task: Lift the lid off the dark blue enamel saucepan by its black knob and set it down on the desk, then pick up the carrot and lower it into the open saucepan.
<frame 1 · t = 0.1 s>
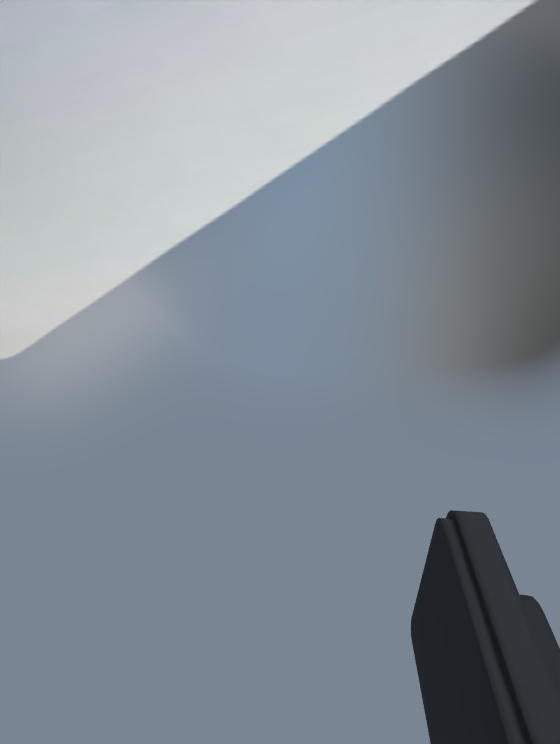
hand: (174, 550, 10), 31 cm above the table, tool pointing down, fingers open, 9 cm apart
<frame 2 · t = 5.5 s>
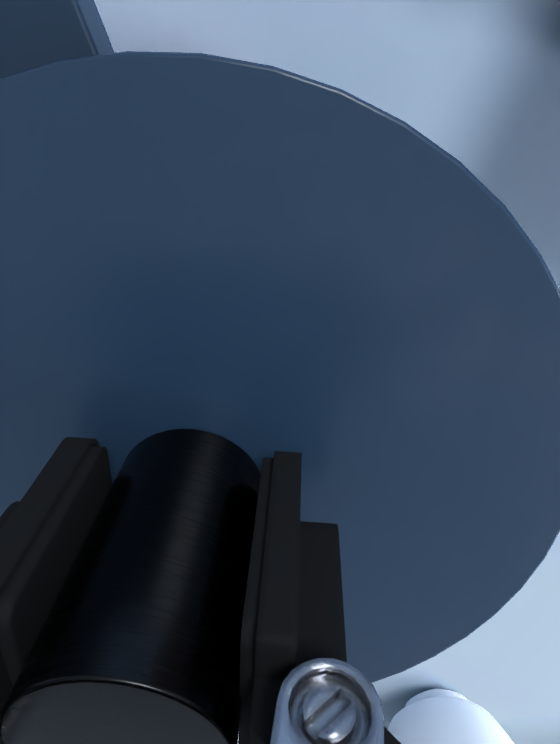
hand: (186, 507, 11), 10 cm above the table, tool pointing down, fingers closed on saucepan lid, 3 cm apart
saucepan lid: (198, 468, 12), point 9 cm above the table, touching gripper, saucepan
saucepan: (242, 317, 19), on the table
white egg-shaped bulb: (434, 694, 30), on the table
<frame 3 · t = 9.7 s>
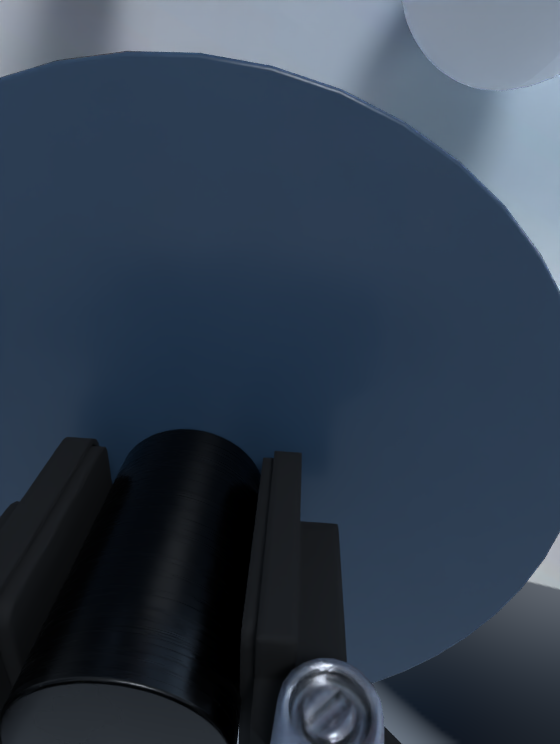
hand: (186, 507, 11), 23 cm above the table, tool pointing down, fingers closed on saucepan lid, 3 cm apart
saucepan lid: (198, 468, 12), point 22 cm above the table, touching gripper
when the fingers open (2 cm above the table, at t = 13.8 s): saucepan lid stays where it is, point 1 cm above the table.
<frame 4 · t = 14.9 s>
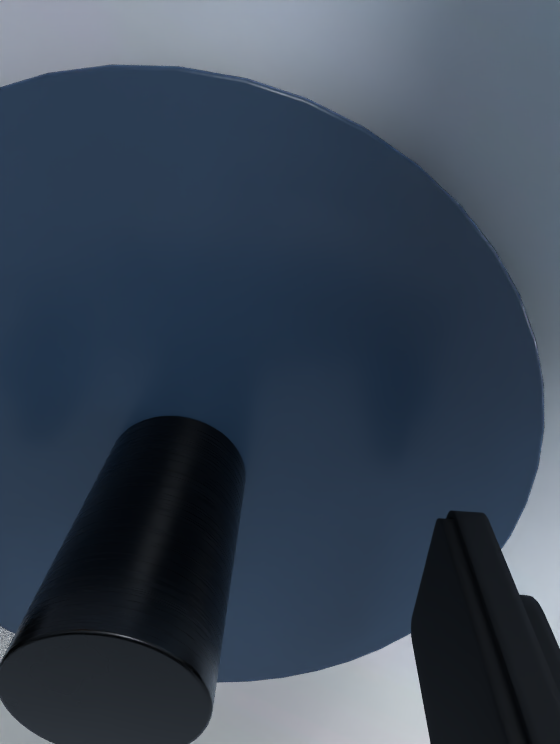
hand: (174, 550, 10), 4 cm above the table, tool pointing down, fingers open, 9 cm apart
saucepan lid: (183, 454, 12), point 1 cm above the table
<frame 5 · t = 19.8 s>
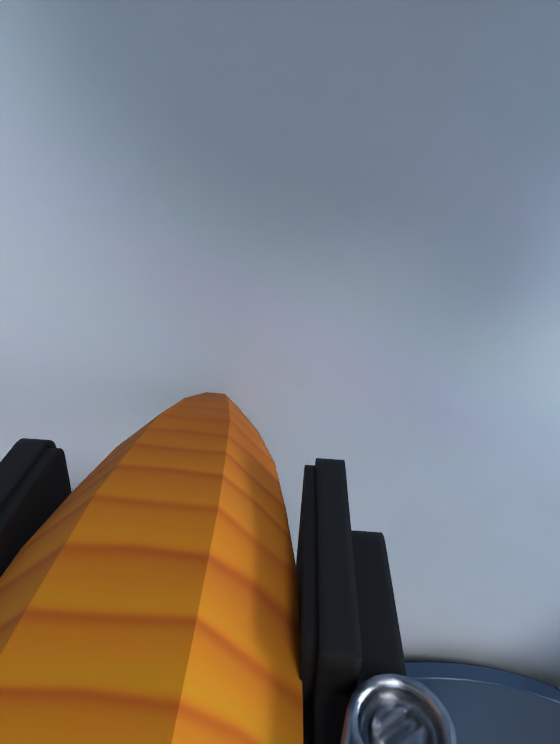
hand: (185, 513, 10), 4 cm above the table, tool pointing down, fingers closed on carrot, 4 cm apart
carrot: (219, 398, 14), on the table, touching gripper
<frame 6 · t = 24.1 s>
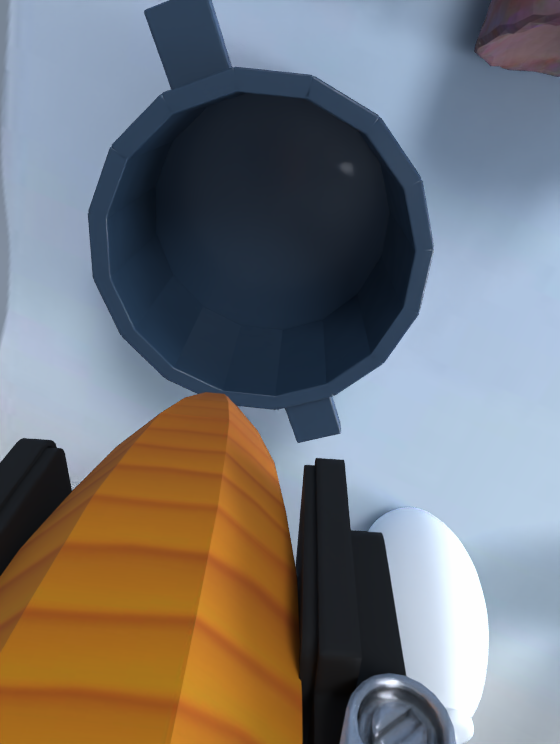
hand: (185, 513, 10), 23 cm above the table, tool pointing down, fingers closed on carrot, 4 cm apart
carrot: (218, 398, 14), point 19 cm above the table, touching gripper
saucepan: (271, 220, 30), on the table
white egg-shaped bulb: (402, 518, 41), on the table
when the fingers open (5 cm above the table, at t = 28.6 s): carrot stays where it is, resting on saucepan.
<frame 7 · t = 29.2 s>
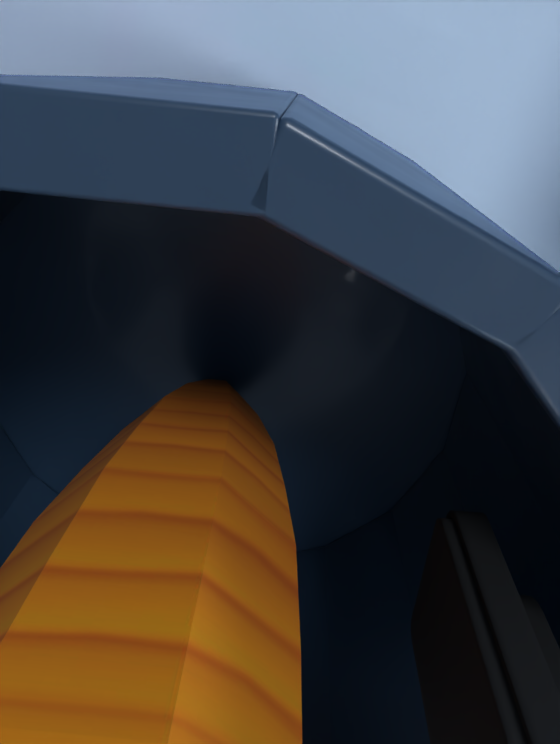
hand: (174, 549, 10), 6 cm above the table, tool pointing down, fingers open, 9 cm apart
carrot: (220, 385, 15), resting on saucepan
saucepan: (219, 378, 15), on the table
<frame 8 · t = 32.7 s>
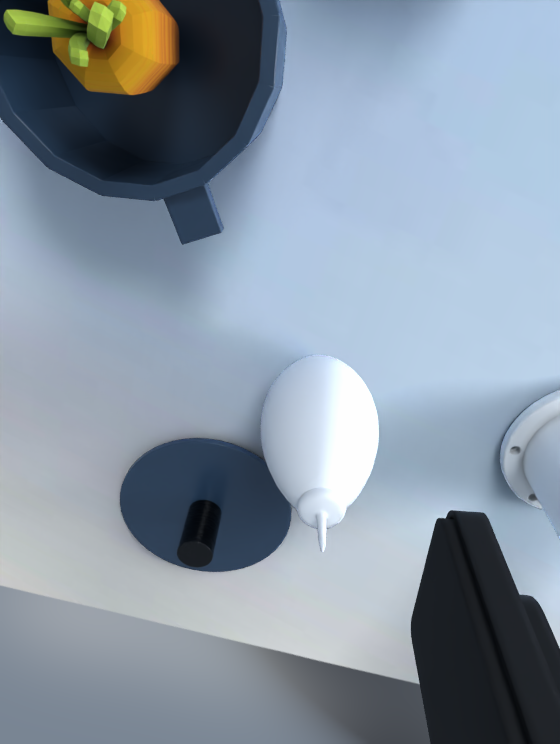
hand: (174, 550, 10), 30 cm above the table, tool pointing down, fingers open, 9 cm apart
carrot: (164, 47, 32), resting on saucepan
saucepan lid: (206, 507, 49), point 1 cm above the table
saucepan: (164, 46, 32), on the table
white egg-shaped bulb: (317, 375, 42), on the table
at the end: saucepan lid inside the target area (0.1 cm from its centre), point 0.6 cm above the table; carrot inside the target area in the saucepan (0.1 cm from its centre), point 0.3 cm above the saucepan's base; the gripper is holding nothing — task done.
